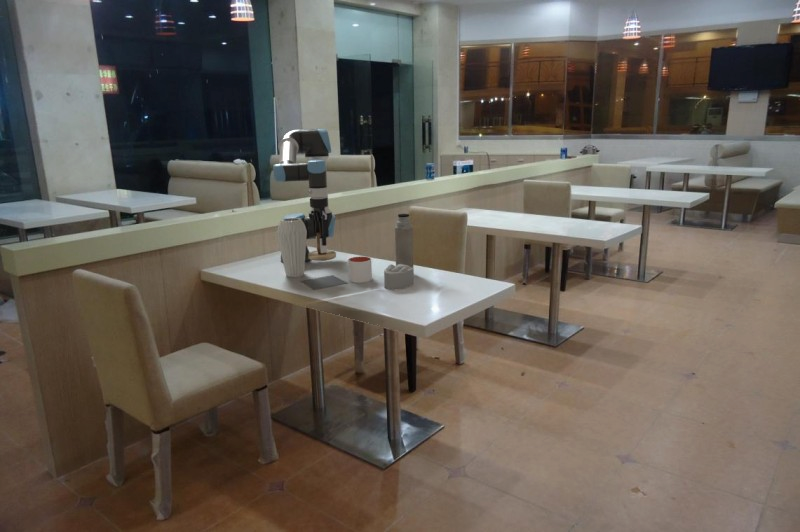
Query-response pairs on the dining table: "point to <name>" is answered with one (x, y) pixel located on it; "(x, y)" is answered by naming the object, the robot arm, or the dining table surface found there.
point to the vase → (292, 245)
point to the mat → (323, 282)
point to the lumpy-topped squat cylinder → (398, 277)
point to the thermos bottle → (404, 241)
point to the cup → (360, 269)
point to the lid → (321, 256)
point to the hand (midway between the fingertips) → (321, 251)
